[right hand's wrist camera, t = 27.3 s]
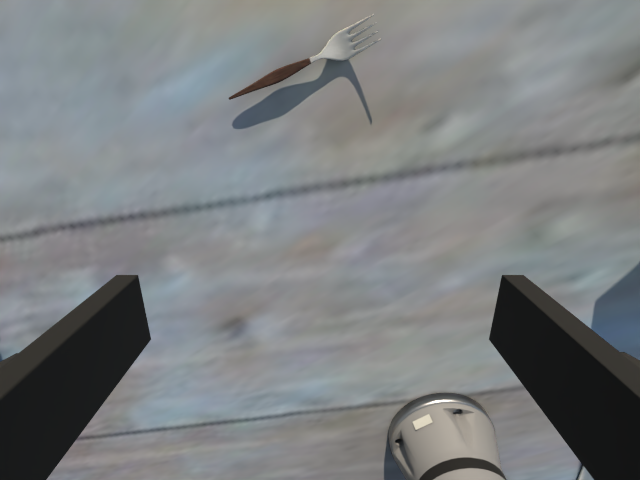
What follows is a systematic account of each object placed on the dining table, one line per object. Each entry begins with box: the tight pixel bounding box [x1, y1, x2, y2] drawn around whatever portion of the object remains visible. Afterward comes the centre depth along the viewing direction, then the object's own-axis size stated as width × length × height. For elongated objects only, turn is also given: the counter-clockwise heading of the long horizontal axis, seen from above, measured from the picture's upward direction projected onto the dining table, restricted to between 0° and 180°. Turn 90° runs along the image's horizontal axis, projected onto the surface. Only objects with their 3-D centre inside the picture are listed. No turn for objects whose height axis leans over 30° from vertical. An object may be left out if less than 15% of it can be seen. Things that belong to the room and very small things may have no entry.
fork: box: [229, 14, 381, 100], centre depth 34 cm, size 3×16×2 cm, turn 113°
